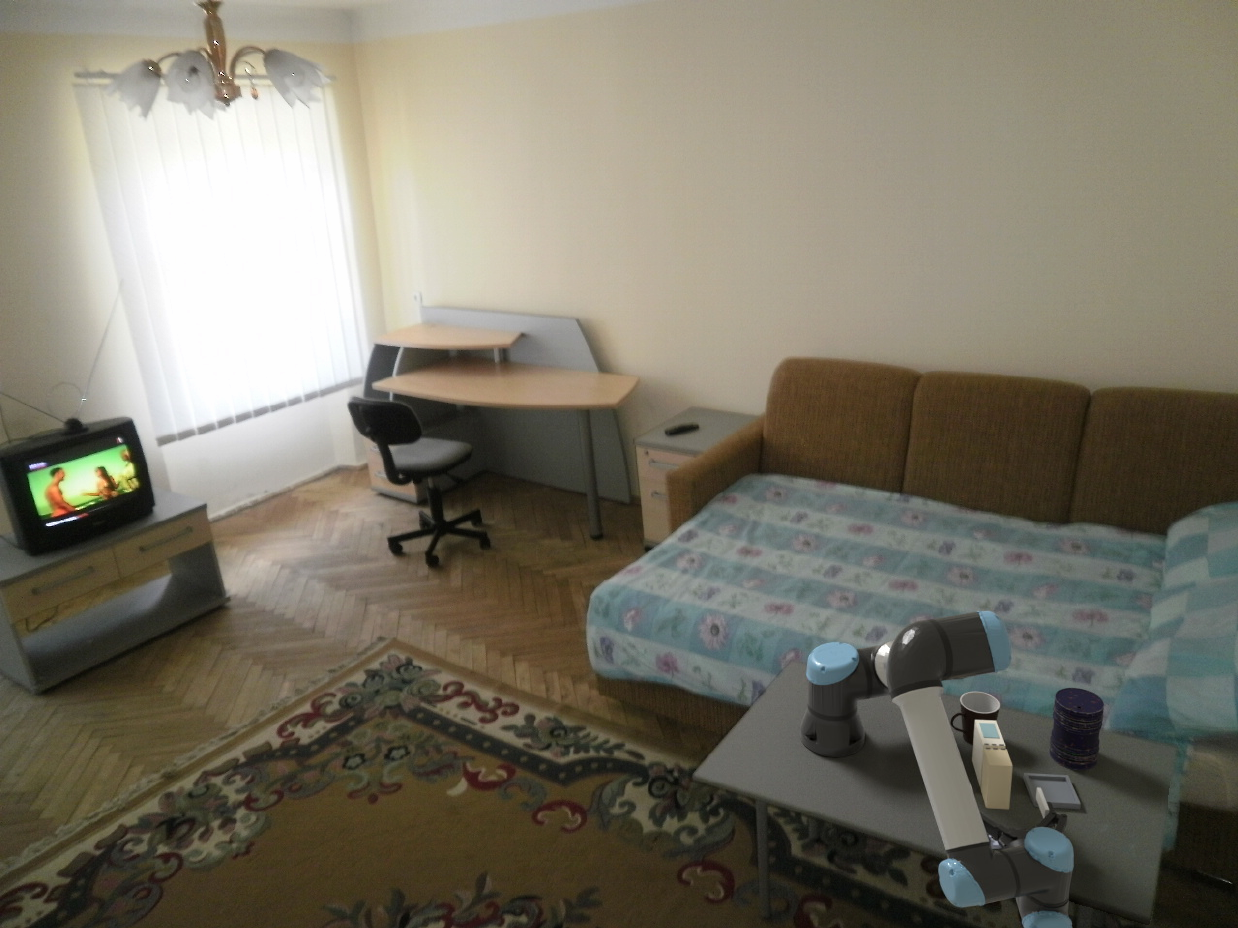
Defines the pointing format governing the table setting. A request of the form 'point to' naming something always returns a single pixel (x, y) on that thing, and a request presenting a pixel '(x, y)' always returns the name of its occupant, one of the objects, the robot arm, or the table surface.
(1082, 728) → the storage jar
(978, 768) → the cream box with panel
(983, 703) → the coffee mug
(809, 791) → the table surface
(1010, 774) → the cream rectangular block
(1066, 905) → the robot arm
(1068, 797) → the tray
